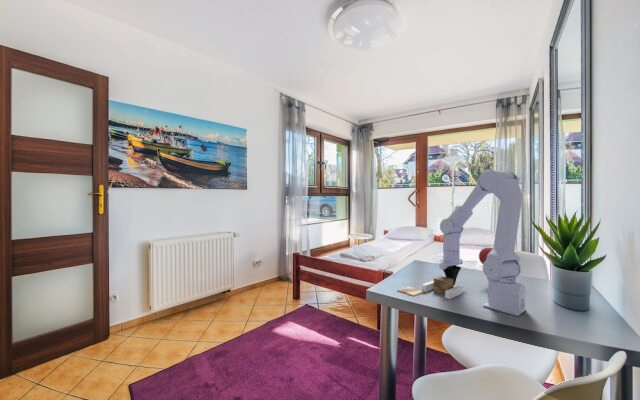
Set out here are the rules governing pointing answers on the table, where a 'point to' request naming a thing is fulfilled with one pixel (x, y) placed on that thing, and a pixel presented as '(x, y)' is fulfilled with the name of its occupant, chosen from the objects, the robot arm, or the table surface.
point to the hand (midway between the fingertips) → (451, 284)
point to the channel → (448, 293)
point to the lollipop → (484, 254)
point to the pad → (410, 291)
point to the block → (442, 284)
